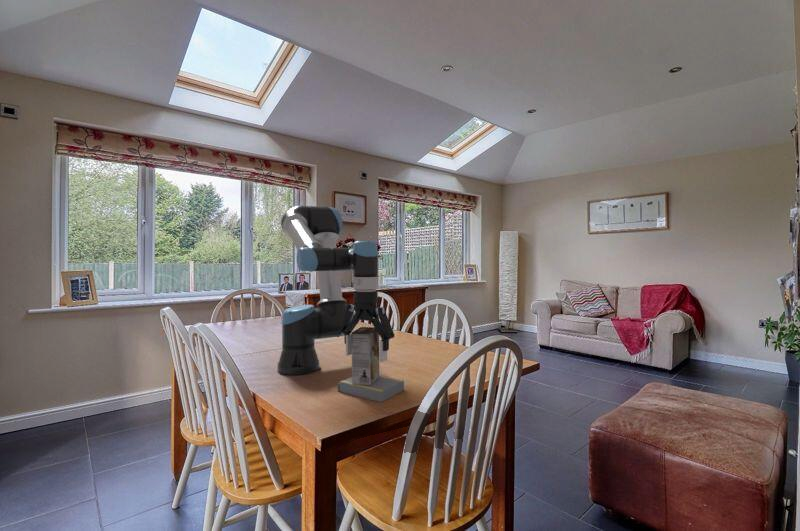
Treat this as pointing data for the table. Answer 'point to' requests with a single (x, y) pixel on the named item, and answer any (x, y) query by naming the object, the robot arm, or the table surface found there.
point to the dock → (373, 388)
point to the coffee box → (365, 356)
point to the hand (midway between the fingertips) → (366, 357)
